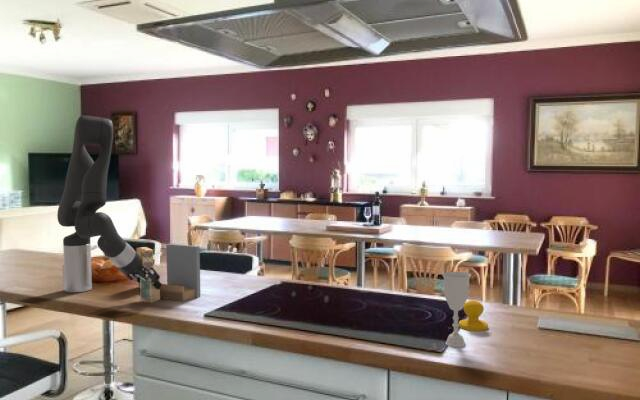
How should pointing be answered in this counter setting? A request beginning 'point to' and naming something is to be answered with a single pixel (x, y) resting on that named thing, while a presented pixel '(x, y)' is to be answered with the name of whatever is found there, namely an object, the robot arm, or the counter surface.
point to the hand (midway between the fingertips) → (152, 286)
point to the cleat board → (182, 273)
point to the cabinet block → (148, 291)
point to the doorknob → (473, 317)
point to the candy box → (146, 257)
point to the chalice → (456, 301)
